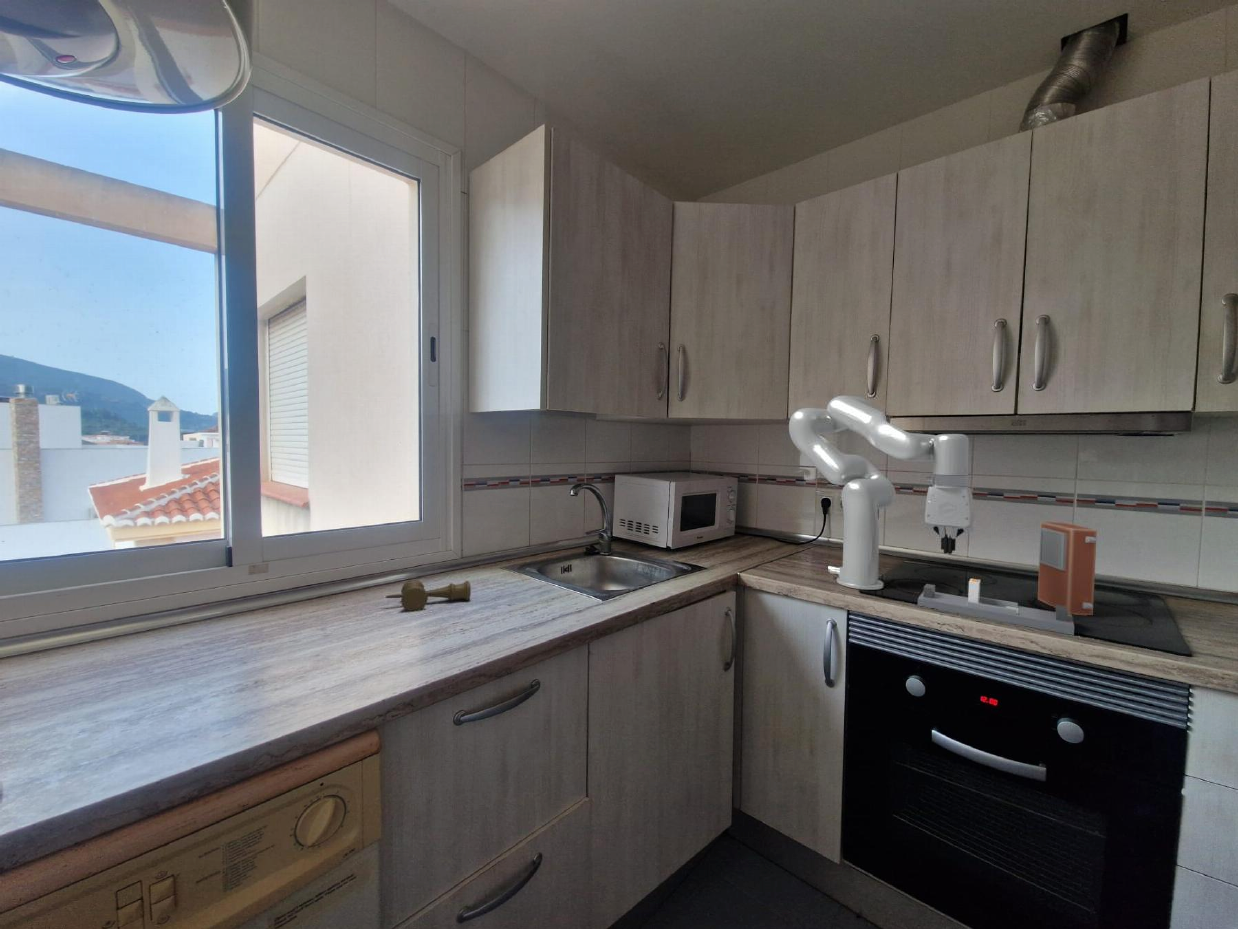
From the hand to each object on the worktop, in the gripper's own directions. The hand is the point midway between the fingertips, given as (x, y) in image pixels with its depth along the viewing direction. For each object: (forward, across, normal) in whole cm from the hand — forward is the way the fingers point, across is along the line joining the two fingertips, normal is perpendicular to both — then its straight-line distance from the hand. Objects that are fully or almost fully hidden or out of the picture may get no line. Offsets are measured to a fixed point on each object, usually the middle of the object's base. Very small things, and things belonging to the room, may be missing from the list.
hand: (948, 552), depth 129 cm
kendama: (+14, -100, -87) cm, 133 cm away
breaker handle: (+12, +6, 0) cm, 13 cm away
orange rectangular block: (+14, +23, +20) cm, 34 cm away
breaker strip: (+14, +9, 0) cm, 17 cm away
